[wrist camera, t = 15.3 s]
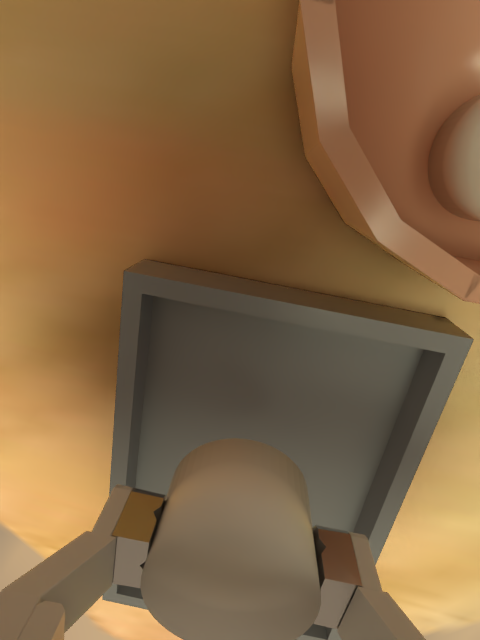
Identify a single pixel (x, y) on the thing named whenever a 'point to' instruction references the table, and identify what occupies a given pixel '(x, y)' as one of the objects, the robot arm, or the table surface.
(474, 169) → the sandstone pebble
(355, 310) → the parts tray
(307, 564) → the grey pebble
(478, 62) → the terracotta bowl
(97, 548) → the robot arm
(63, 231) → the table surface
